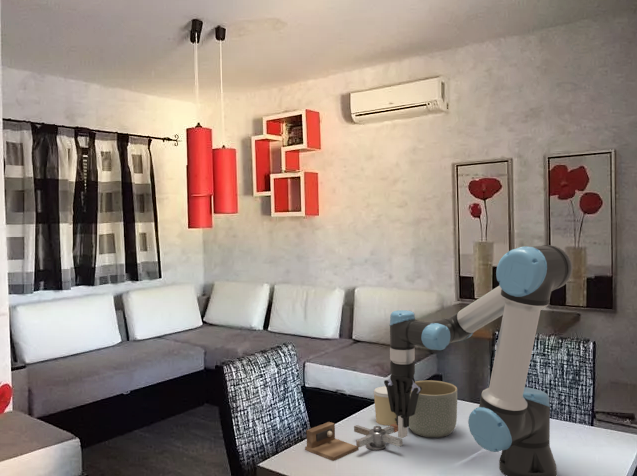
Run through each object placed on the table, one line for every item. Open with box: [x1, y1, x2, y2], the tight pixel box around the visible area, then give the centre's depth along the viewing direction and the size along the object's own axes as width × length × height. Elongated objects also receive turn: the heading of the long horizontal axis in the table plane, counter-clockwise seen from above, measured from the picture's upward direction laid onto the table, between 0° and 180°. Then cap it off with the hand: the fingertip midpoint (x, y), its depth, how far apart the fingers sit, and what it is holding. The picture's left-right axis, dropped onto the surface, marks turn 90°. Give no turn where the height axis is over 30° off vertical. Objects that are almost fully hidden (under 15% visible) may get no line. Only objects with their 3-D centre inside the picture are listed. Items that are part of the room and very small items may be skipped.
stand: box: [304, 421, 360, 462], centre depth 180 cm, size 20×21×7 cm
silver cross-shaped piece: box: [353, 424, 403, 451], centre depth 181 cm, size 18×18×6 cm
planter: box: [408, 379, 458, 438], centre depth 194 cm, size 17×17×15 cm
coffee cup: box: [373, 385, 396, 426], centre depth 203 cm, size 9×9×12 cm
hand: (402, 436), depth 182 cm, fingers closed
